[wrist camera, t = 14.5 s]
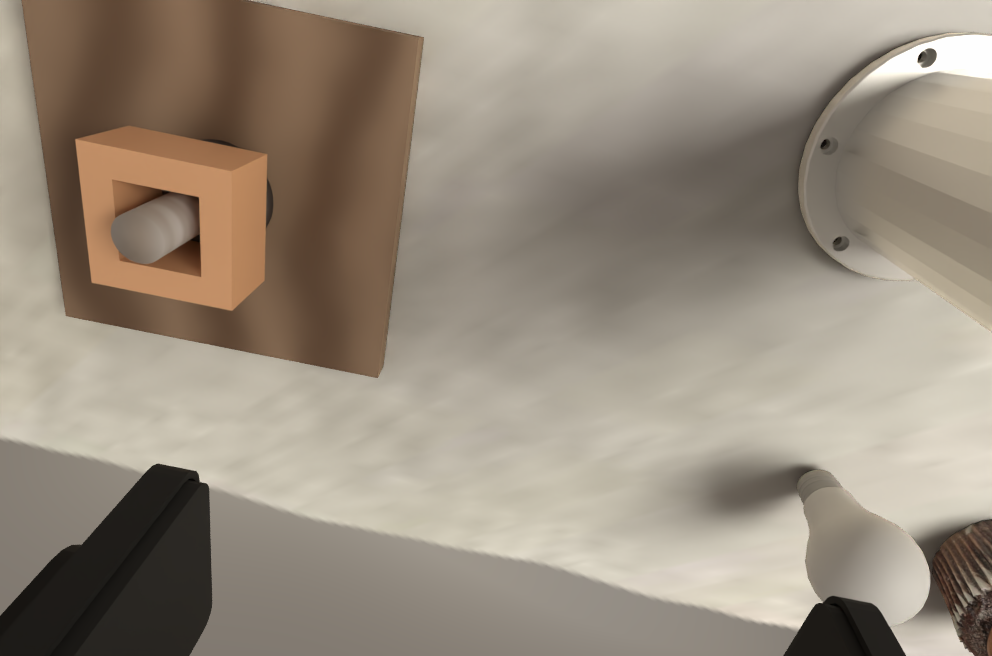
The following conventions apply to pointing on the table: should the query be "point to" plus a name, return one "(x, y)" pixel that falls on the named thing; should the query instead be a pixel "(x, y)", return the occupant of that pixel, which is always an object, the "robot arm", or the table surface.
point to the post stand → (246, 125)
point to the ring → (187, 170)
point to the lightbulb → (860, 552)
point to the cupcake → (968, 584)
